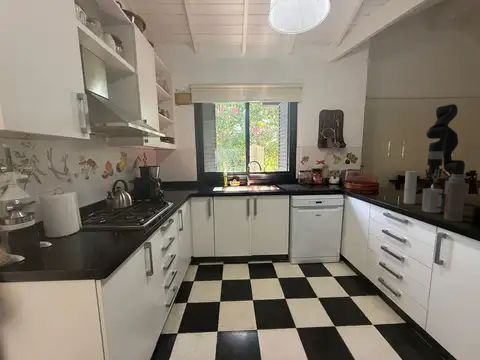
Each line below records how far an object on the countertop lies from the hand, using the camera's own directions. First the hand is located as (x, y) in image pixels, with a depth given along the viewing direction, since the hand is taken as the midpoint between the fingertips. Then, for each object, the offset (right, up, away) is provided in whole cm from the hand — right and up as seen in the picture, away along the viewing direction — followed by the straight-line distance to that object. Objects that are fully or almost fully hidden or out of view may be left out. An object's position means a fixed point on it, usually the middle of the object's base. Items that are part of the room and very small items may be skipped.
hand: (432, 184), depth 152 cm
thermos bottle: (-3, -21, -17) cm, 27 cm away
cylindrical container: (+4, -16, +27) cm, 32 cm away
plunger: (0, -14, +2) cm, 14 cm away
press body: (+1, -18, +1) cm, 18 cm away
